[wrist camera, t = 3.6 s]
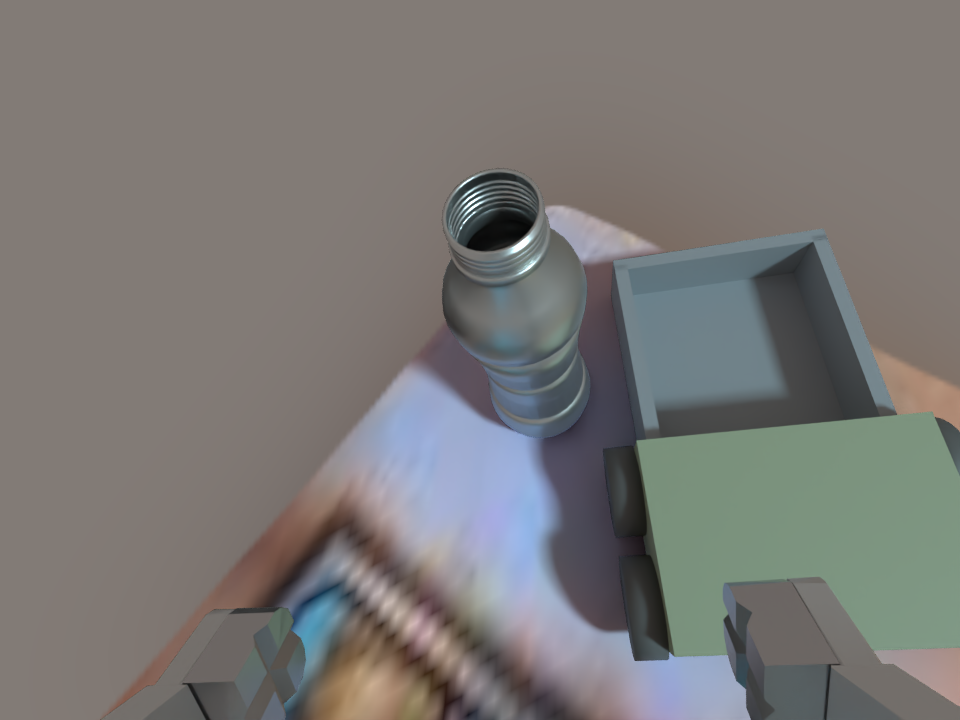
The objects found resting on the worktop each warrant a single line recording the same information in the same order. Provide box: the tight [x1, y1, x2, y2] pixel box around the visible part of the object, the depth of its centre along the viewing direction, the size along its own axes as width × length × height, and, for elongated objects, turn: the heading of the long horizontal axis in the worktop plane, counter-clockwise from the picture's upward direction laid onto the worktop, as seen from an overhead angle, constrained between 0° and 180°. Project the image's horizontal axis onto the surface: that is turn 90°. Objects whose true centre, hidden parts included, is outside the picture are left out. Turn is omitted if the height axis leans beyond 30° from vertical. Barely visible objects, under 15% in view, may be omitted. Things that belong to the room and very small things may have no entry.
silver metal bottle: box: [442, 168, 590, 438], centre depth 27 cm, size 6×7×20 cm
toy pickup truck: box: [603, 229, 960, 661], centre depth 29 cm, size 23×17×6 cm
